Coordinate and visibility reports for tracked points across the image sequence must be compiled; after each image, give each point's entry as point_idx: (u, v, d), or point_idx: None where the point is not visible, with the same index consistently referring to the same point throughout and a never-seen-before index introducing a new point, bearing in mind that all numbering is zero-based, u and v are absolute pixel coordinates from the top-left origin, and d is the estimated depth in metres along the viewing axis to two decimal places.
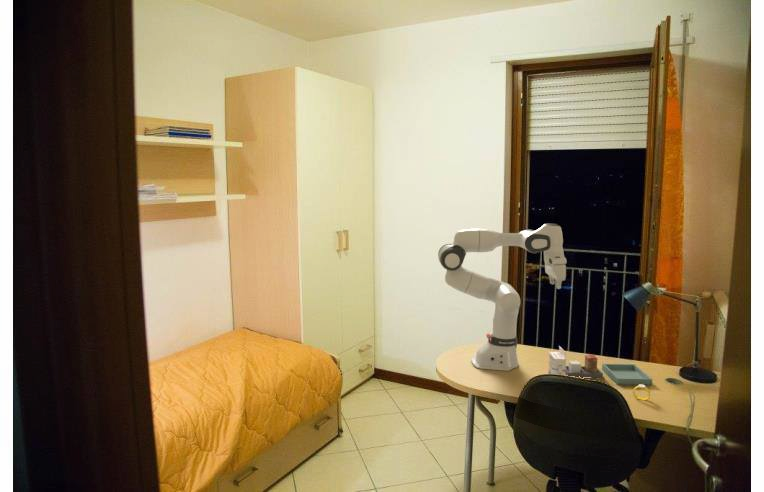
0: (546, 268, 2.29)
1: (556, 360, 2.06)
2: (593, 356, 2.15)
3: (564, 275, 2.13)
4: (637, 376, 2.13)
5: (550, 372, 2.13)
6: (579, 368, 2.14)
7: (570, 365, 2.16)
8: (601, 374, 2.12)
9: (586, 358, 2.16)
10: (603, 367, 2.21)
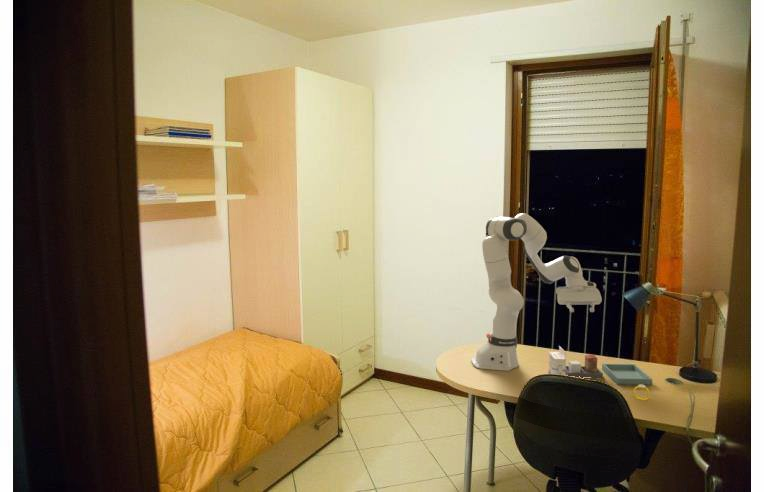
0: (565, 296, 2.30)
1: (556, 360, 2.06)
2: (593, 356, 2.15)
3: None
4: (637, 376, 2.13)
5: (550, 372, 2.13)
6: (579, 368, 2.14)
7: (570, 365, 2.16)
8: (601, 374, 2.12)
9: (586, 358, 2.16)
10: (603, 367, 2.21)
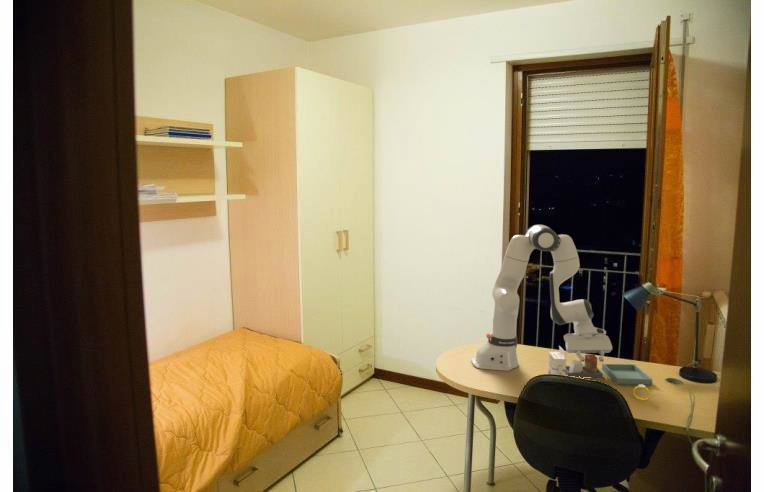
0: (574, 344, 2.19)
1: (556, 360, 2.06)
2: (593, 356, 2.15)
3: None
4: (637, 376, 2.13)
5: (550, 372, 2.13)
6: (581, 368, 2.14)
7: (572, 364, 2.16)
8: (601, 374, 2.12)
9: (586, 358, 2.16)
10: (603, 367, 2.21)
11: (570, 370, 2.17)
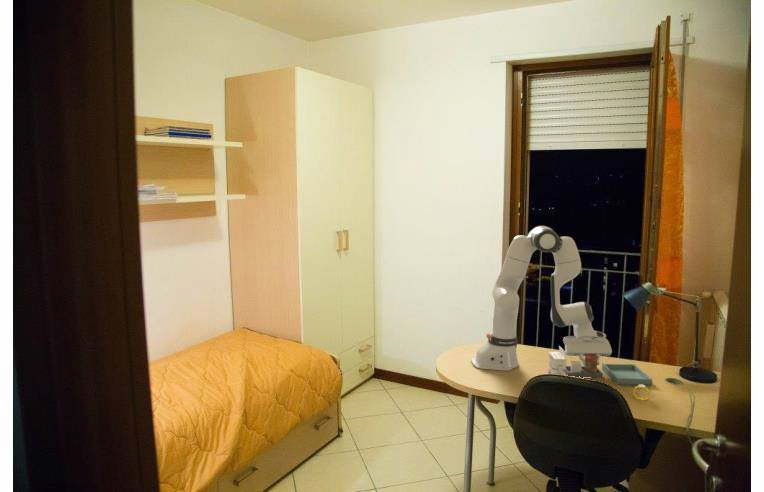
0: (573, 347, 2.19)
1: (556, 360, 2.06)
2: (593, 356, 2.15)
3: None
4: (637, 376, 2.13)
5: (550, 372, 2.13)
6: (580, 369, 2.14)
7: (571, 365, 2.16)
8: (601, 374, 2.12)
9: (586, 358, 2.16)
10: (603, 367, 2.21)
11: None
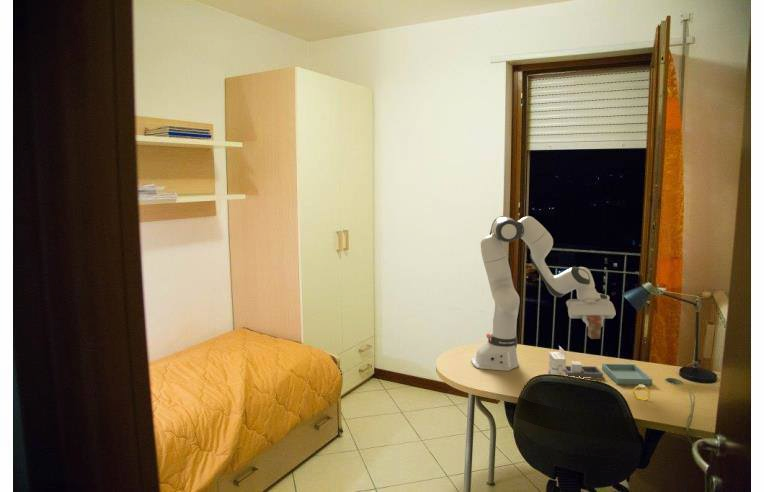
0: (576, 309, 2.16)
1: (556, 360, 2.06)
2: (597, 318, 2.12)
3: None
4: (637, 376, 2.13)
5: (550, 372, 2.13)
6: (580, 369, 2.14)
7: (571, 365, 2.16)
8: (601, 374, 2.12)
9: (590, 320, 2.13)
10: (603, 367, 2.21)
11: None
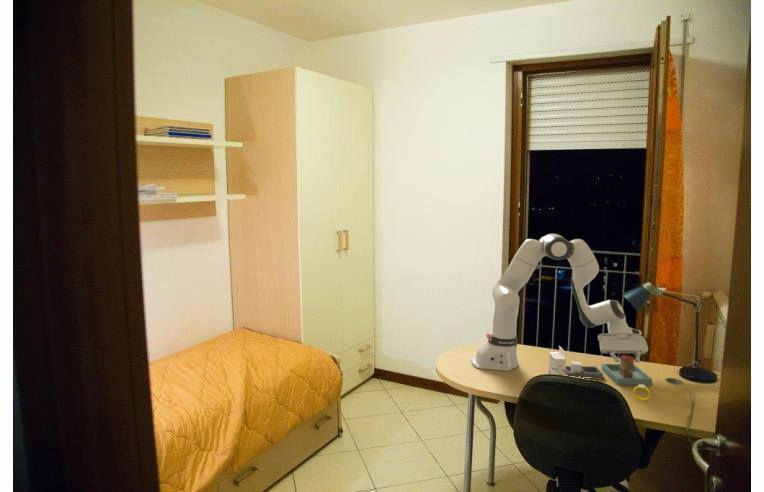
0: (608, 344, 2.15)
1: (556, 360, 2.06)
2: (629, 356, 2.12)
3: None
4: (637, 376, 2.13)
5: (550, 372, 2.13)
6: (580, 369, 2.14)
7: (571, 365, 2.16)
8: (601, 374, 2.12)
9: (622, 358, 2.13)
10: (603, 367, 2.21)
11: None
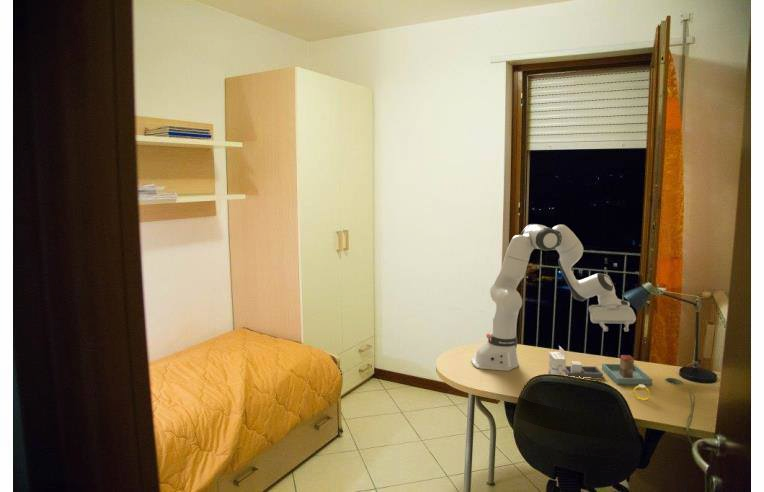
0: (598, 314, 2.27)
1: (556, 360, 2.06)
2: (629, 356, 2.12)
3: None
4: (637, 376, 2.13)
5: (550, 372, 2.13)
6: (580, 369, 2.14)
7: (571, 365, 2.16)
8: (601, 374, 2.12)
9: (622, 359, 2.13)
10: (603, 367, 2.21)
11: None
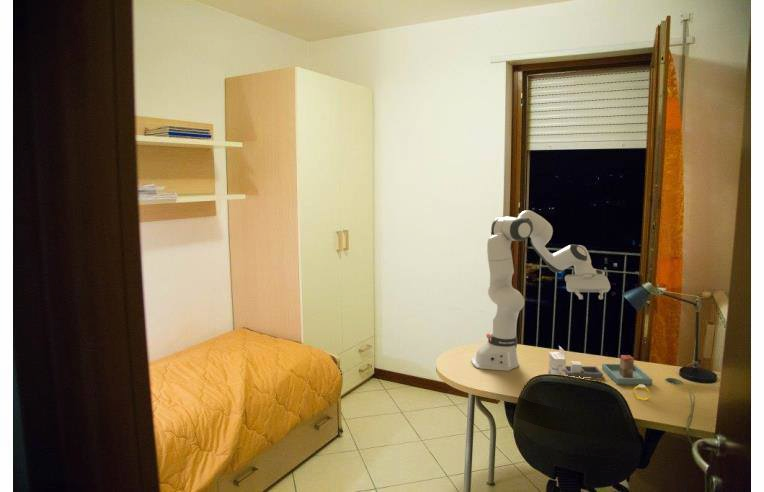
0: (574, 283, 2.32)
1: (556, 360, 2.06)
2: (629, 356, 2.12)
3: None
4: (637, 376, 2.13)
5: (550, 372, 2.13)
6: (580, 369, 2.14)
7: (571, 365, 2.16)
8: (601, 374, 2.12)
9: (622, 359, 2.13)
10: (603, 367, 2.21)
11: None
